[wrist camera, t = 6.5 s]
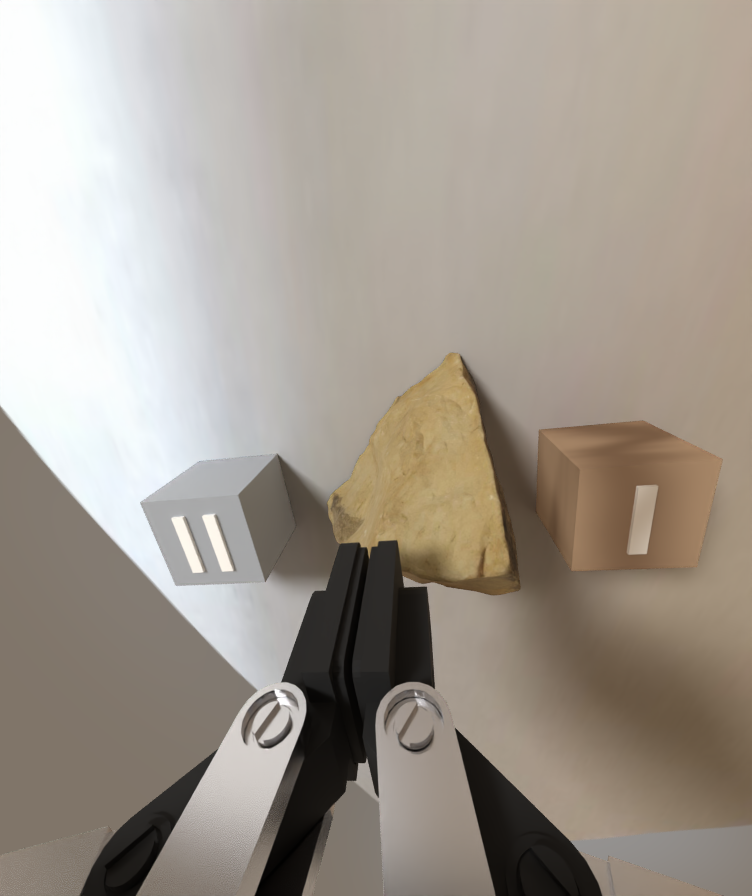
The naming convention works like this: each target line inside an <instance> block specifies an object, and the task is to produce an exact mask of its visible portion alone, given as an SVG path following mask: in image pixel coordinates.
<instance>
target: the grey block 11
mask: <svg viewBox="0 0 752 896" xmlns="http://www.w3.org/2000/svg"><path fill="white" fill-rule="evenodd" d="M140 503H141V506H142V508H143V510H144V513H145V515H146V517H147V520H148V522H149V524H150V527H151V529H152V531H153V534H154V536H155V538H156V541H157V543H158V545H159V548H160V550H161V552H162V555H163V557H164V559H165V562H166V564H167V566H168V569H169V571H170V573H171V576H172V578H173V580H174V583H175V585H176V586H182V585H208V584H234V583H260V582H266V580H267V578H268V577H269V575H270V573H271V571H272V569H273V567H274V566H275V564H276V562H277V560H278V558H279V557H280V555H281V553H282V551H283V549H284V547H285V546H286V544H287V542H288V540H289V538H290V537H291V535H292V533H293V531H294V529H295V527H296V524H295V520H294V516H293V512H292V508H291V505H290V501H289V497H288V493H287V489H286V485H285V481H284V477H283V474H282V470H281V466H280V462H279V458H278V454H270V455H260V456H249V457H239V458H228V459H218V460H207V461H199V462H198V463H196V464H195V465H193V466H192V467H190V468H189V469H188V470H186V471H185V472H183V473H182V474H180V475H179V476H178V477H176V478H175V479H173V480H172V481H170V482H169V483H167V484H166V485H165V486H163V487H162V488H160V489H159V490H157V491H156V492H155V493H153V494H152V495H150V496H149V497H147V498H146V499H145V500H143V501H142V502H140Z"/></svg>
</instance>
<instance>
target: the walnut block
mask: <svg viewBox="0 0 752 896" xmlns="http://www.w3.org/2000/svg"><path fill="white" fill-rule="evenodd" d="M722 460H723V459H721V458H719V457H717V456H715V455H713V454H711V453H709V452H707V451H705V450H703V449H700V448H698V447H696V446H694V445H692V444H690V443H688V442H686V441H684V440H682V439H680V438H678V437H676V436H674V435H672V434H670V433H668V432H666V431H663V430H661V429H659V428H657V427H655V426H653V425H651V424H649V423H647V422H645V421H633V422H621V423H610V424H599V425H587V426H576V427H565V428H553V429H542V430H539V441H538V469H537V497H536V513H537V514H538V516H539V518H540V519H541V521H542V523H543V524H544V526H545V528H546V529H547V531H548V533H549V534H550V536H551V538H552V539H553V541H554V543H555V544H556V546H557V548H558V549H559V551H560V553H561V554H562V556H563V558H564V559H565V561H566V563H567V564H568V566H569V568H570V569H571V571H588V570H619V569H650V568H680V567H697V564H698V560H699V556H700V552H701V548H702V544H703V539H704V535H705V531H706V527H707V523H708V519H709V514H710V510H711V506H712V502H713V498H714V494H715V490H716V485H717V481H718V477H719V473H720V469H721V465H722Z"/></svg>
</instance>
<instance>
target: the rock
mask: <svg viewBox="0 0 752 896" xmlns="http://www.w3.org/2000/svg"><path fill="white" fill-rule="evenodd" d="M327 505H328V516H329V519H330V521H331V522H332V525H333V533H334V536H335V538H336V541H337V542H338V543H339V544H341V543H355V542H359V543H360V545H361V547H367V550H368V555H369V558H370V552H371V547H374V546H378V542H379V541H390V540H397V541H398V547H399V554H400V562H401V569H402V576H404V577H406V578H409V579H411V580H413V581H415V582H418V583H421V584H425V583H430V582H435V583H438V584H441V585H444V586H446V587H451V588H458V589H464V590H471V591H477V592H481V593H485V594H489V595H501V594H506V593H510V592H515V591H519V590H520V587H521V586H520V580H519V573H518V564H517V550H516V543H515V538H514V533H513V529H512V524H511V519H510V516H509V513H508V510H507V505H506V502H505V498H504V493H503V489H502V487H501V485H500V483H499V481H498V478H497V476H496V473H495V468H494V464H493V458H492V454H491V451H490V449H489V447H488V445H487V439H486V432H485V428H484V425H483V421H482V417H481V413H480V401H479V398H478V395H477V391H476V387H475V383H474V381H473V379H472V377H471V375H470V373H469V372H468V370H467V369H466V368H465V366H464V364H463V362H462V360H461V358H460V354H458V353H449V354H448V355H447V356H446V357H445V359H444V361H443V363H442V364H441V365H440V367H438V368H437V369H435V370H434V371H433V372H431V373H430V374H429V375H427V376H426V377H425V378H424V379H423V380H422V381H421V382H419V383H418V384H416V385H414V386H412V387H411V388H410V389H409V390H407V391H406V392H405V393H404V394H403V395H402V396H398V397H397V398H396V399H395V401H394V403H393V404H392V406H391V407H390V409H389V411H388V412H387V413H386V414H385V415H384V417H383V418H382V419H381V420H380V421H379V423H378V424H377V426H376V430H375V431H374V433H373V434H372V435H371V437H370V440H369V445H368V446H367V448H366V450H365V451H364V453H363V454H362V455H360V457H359V459H358V461H357V463H356V465H355V467H354V470H353V473H352V476H351V478H350V479H349V480H348V481H346V482H345V483H344V484H343V485H342V486H340V487H339V488H338V489H337V490H335V491H334V492H333V493H332V494H331V496H330V499H329V500H328V502H327Z"/></svg>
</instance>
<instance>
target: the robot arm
mask: <svg viewBox="0 0 752 896" xmlns="http://www.w3.org/2000/svg"><path fill="white" fill-rule="evenodd" d="M366 759H368V763H369V767H370V772H371V776H372V781H373V785H374V789H375V793H376V795H377V796H378V798H379V806H380V827H381V847H382V867H383V886H384V887H383V888H384V896H722V895H720V894H717V893H714V892H711V891H708V890H705V889H703V888H699V887H697V886H694V885H691V884H688V883H685V882H682V881H680V880H677V879H674V878H671V877H668V876H665V875H663V874H659V873H657V872H654V871H651V870H648V869H645V868H643V867H640V866H637V865H634V864H631V863H628V862H625V861H622V860H620V859H617V858H614V857H611V856H608V861H605V860H602V859H599V858H597V857H594V856H591V855H588V854H585V853H582V852H580V851H578V850H577V849H576V848H575V847H574V845H573V844H572V843H571V842H570V841H569V840H568V839H567V838H566V837H565V836H564V835H563V834H562V833H561V832H560V831H559V830H558V829H557V828H556V827H555V826H554V825H553V824H552V823H551V822H550V821H549V820H548V819H547V818H546V817H545V816H544V815H543V814H542V813H541V812H540V811H539V810H538V809H537V808H536V807H535V806H534V805H533V804H532V803H531V802H530V801H529V800H528V799H527V798H526V797H525V796H524V795H523V794H522V793H521V792H520V791H519V790H518V789H517V788H516V787H515V786H514V785H513V784H512V783H511V782H509V781H508V780H507V779H506V778H505V777H504V776H503V775H502V774H501V773H500V772H499V771H498V770H497V769H496V768H495V767H494V766H493V765H492V764H491V763H490V762H489V761H488V760H487V759H486V758H485V757H484V756H483V755H482V754H481V753H480V752H479V751H478V750H477V749H476V748H475V747H474V746H473V745H472V744H471V743H470V742H469V741H468V740H467V739H466V738H465V737H464V736H463V735H462V734H461V733H460V732H459V731H458V730H457V729H456V728H455V727H454V723H453V719H452V715H451V712H450V709H449V707H448V704H447V702H446V701H445V699H444V698H443V697H442V696H441V694H440V693H439V692H438V691H436V690H435V683H434V667H433V652H432V637H431V624H430V612H429V603H428V593H427V587H406V588H404V584H403V576H402V569H401V562H400V554H399V547H398V541H397V540H390V541H379V542H378V546H374V547H371V552H370V558H369V555H368V550H367V547H361V545H360V543H359V542H355V543H341V544H340V546H339V549H338V552H337V556H336V559H335V562H334V566H333V569H332V572H331V575H330V579H329V582H328V585H327V588H326V591H315V592H314V593H313V594H312V596H311V599H310V602H309V604H308V607H307V610H306V613H305V616H304V619H303V622H302V624H301V627H300V630H299V633H298V636H297V639H296V642H295V644H294V647H293V650H292V653H291V656H290V659H289V662H288V665H287V667H286V670H285V673H284V676H283V679H282V682H281V683H274V684H271V685H268V686H266V687H264V688H262V689H261V690H259V691H257V692H256V693H255V694H254V695H253V696H252V697H251V698H250V699H249V700H247V702H246V703H245V705H244V706H243V707H242V709H241V710H240V712H239V713H238V715H237V717H236V719H235V720H234V722H233V724H232V726H231V728H230V729H229V731H228V733H227V735H226V736H225V738H224V740H223V742H222V744H221V746H220V747H219V749H217V750H216V751H215V752H214V753H212V754H211V755H210V756H209V757H207V758H206V759H205V760H204V761H202V762H201V763H200V764H198V765H197V766H196V767H195V768H193V769H192V770H191V771H190V772H188V773H187V774H186V775H185V776H183V777H182V778H181V779H179V780H178V781H177V782H176V783H175V784H173V785H172V786H171V787H169V788H168V789H167V790H166V791H164V792H163V793H162V794H161V795H159V796H158V797H157V798H156V799H154V800H153V801H152V802H150V803H149V804H148V805H147V806H145V807H144V808H143V809H142V810H140V811H139V812H138V813H137V814H135V815H134V816H133V817H132V818H130V819H129V820H128V821H127V822H126V823H125V824H124V825H123V826H122V827H121V828H120V829H119V830H115V831H112V830H111V828H110V827H109V826H108V827H104V828H100V829H96V830H92V831H89V832H85V833H82V834H77V835H74V836H70V837H66V838H62V839H58V840H55V841H51V842H47V843H43V844H40V845H36V846H32V847H29V848H24V849H21V850H17V851H13V852H9V853H6V854H4V855H1V856H0V896H312V895H313V891H314V888H315V884H316V880H317V876H318V873H319V869H320V865H321V861H322V857H323V853H324V850H325V846H326V842H327V839H328V835H329V830H330V827H331V823H332V820H333V814H334V807H335V802H336V801H337V800H338V799H339V798H340V797H341V796H342V795H343V794H344V793H345V790H346V783H347V781H356V779H357V770H358V763H365V762H366Z"/></svg>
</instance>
